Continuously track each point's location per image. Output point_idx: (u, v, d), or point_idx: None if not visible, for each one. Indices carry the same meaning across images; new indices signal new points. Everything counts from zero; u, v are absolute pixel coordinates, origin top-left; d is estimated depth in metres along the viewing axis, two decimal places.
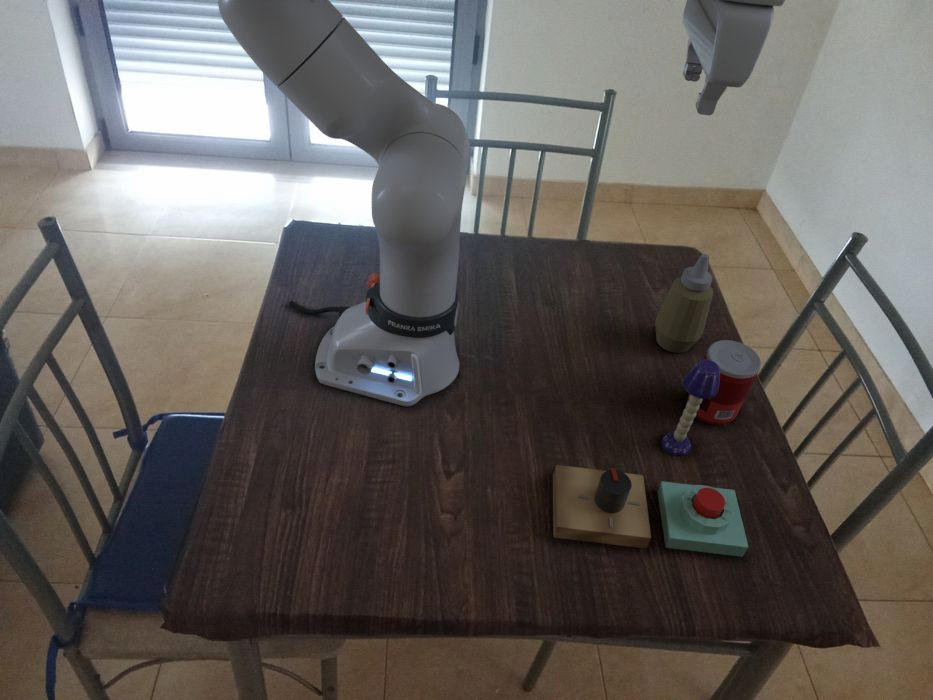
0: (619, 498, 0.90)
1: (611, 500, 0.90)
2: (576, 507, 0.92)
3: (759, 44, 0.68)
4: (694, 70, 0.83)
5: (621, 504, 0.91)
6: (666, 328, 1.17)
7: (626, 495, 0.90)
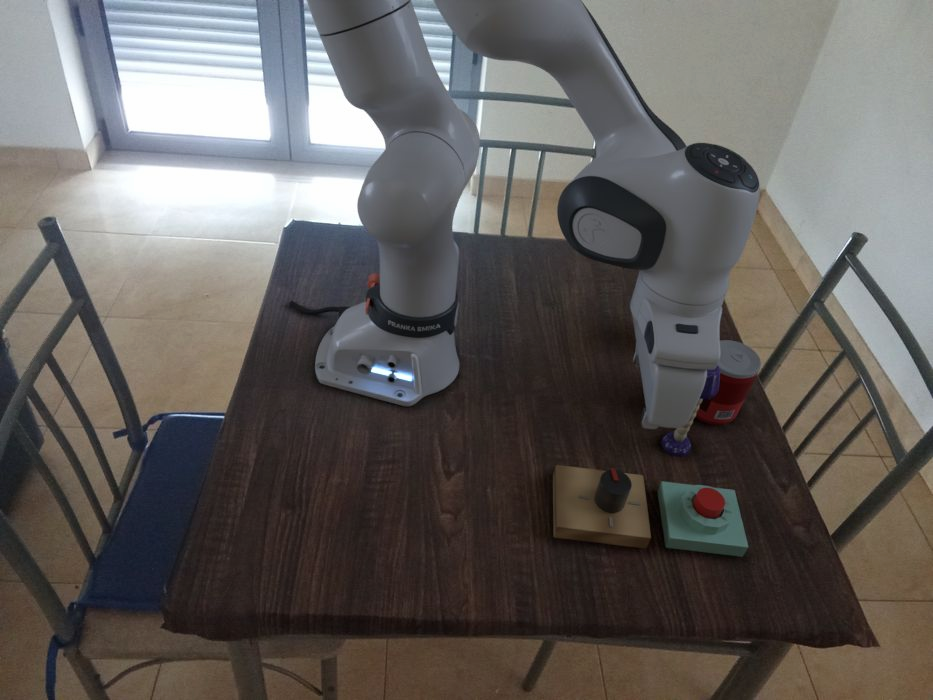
0: (619, 498, 0.90)
1: (611, 500, 0.90)
2: (576, 507, 0.92)
3: (693, 402, 0.70)
4: None
5: (621, 504, 0.91)
6: None
7: (626, 495, 0.90)
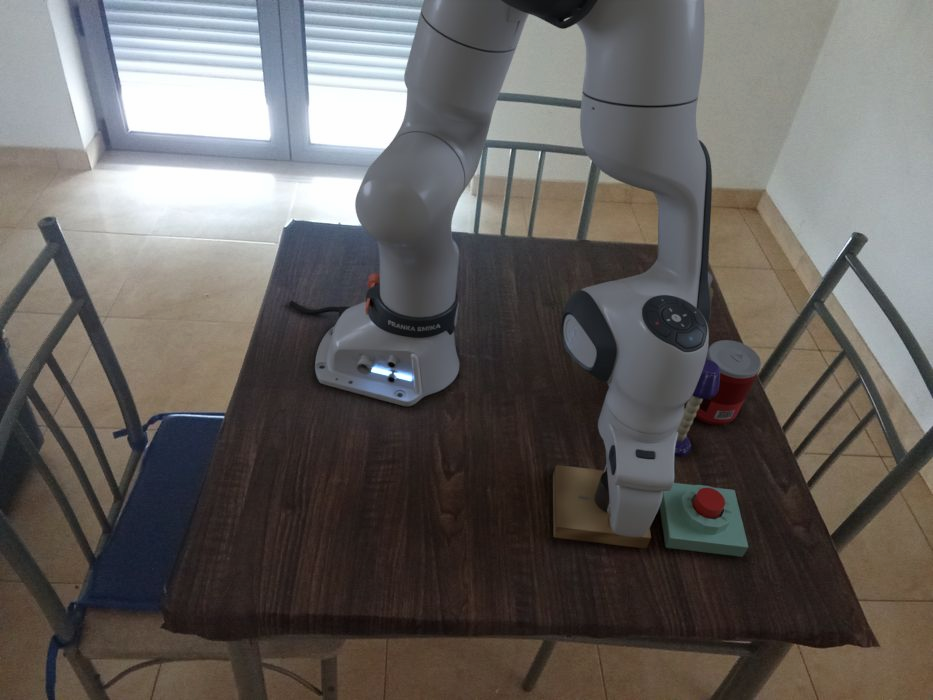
0: None
1: None
2: (576, 507, 0.92)
3: (651, 517, 0.79)
4: None
5: None
6: None
7: None
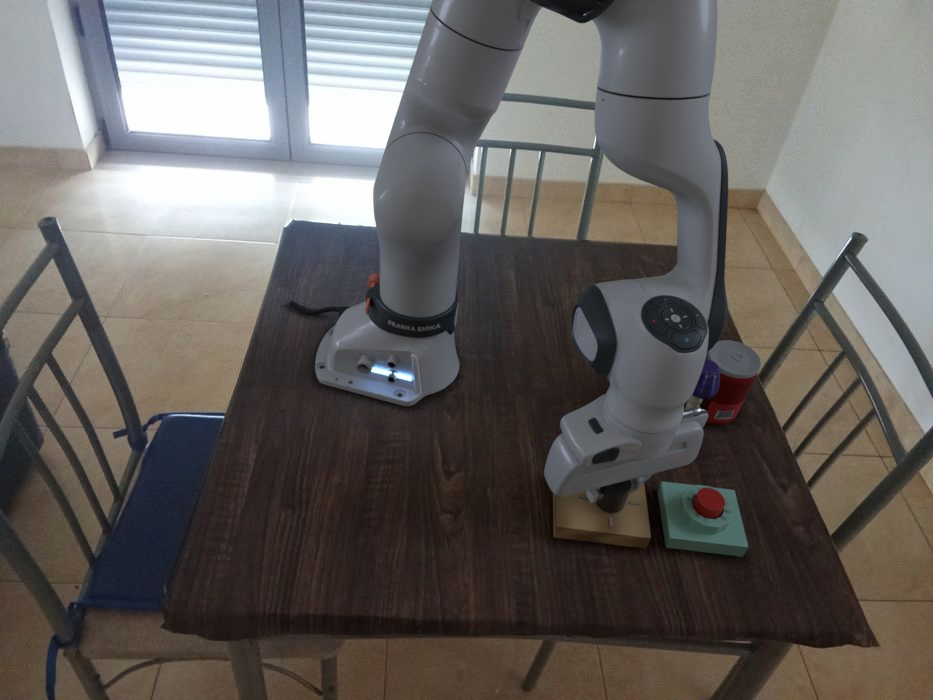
0: None
1: None
2: (576, 507, 0.92)
3: (562, 477, 0.82)
4: None
5: (605, 503, 0.91)
6: None
7: (610, 496, 0.90)
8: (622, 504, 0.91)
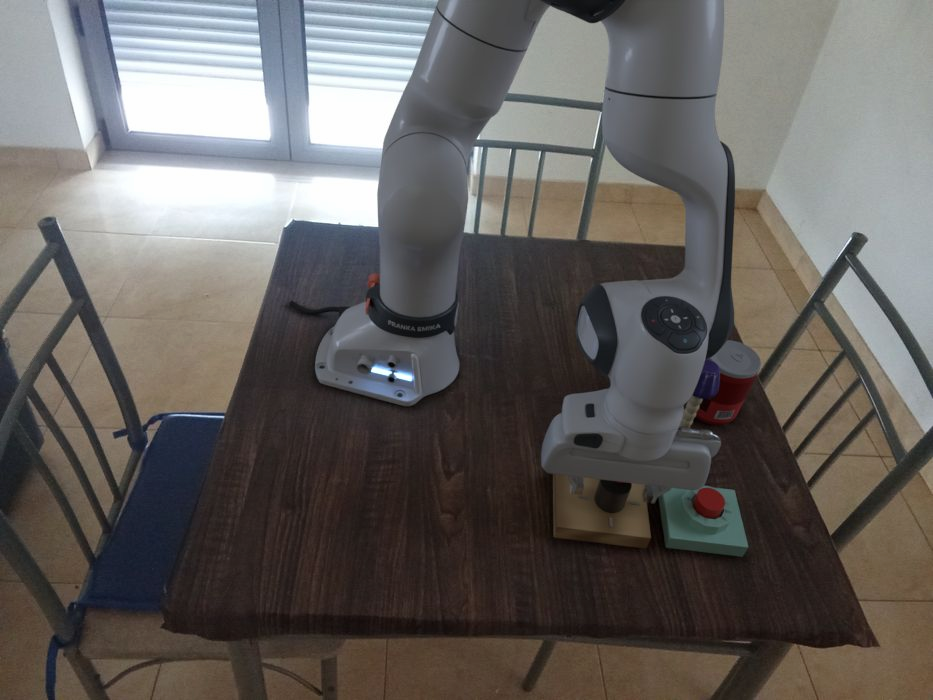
0: (600, 486, 0.91)
1: (598, 484, 0.92)
2: (576, 507, 0.92)
3: (548, 450, 0.85)
4: (645, 492, 0.91)
5: (600, 498, 0.91)
6: None
7: (604, 492, 0.90)
8: (616, 506, 0.91)
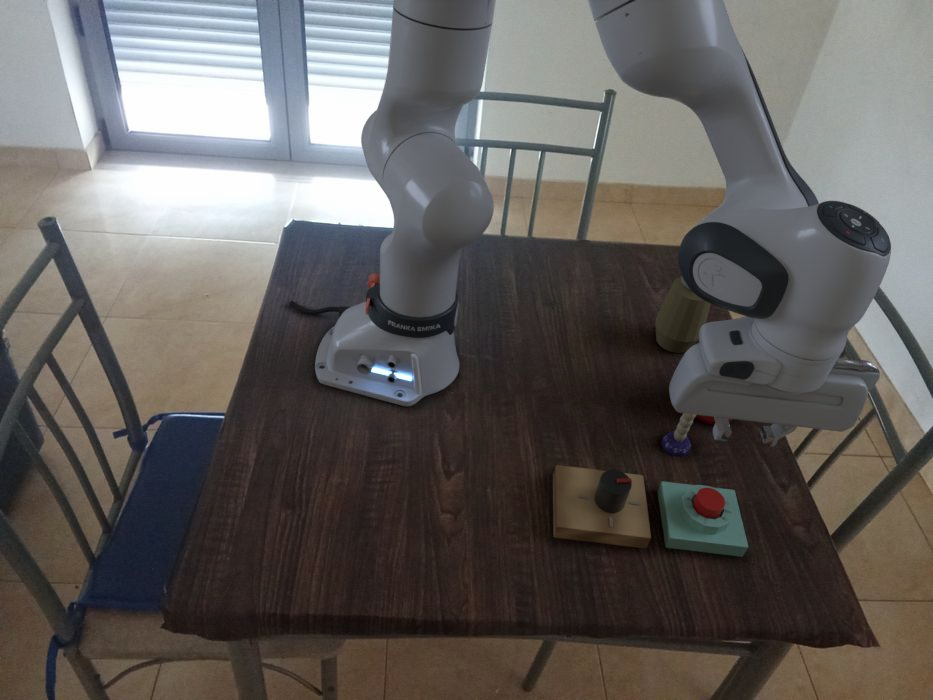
0: (600, 486, 0.91)
1: (598, 484, 0.92)
2: (576, 507, 0.92)
3: (684, 385, 0.76)
4: (764, 434, 0.83)
5: (600, 498, 0.91)
6: (666, 328, 1.17)
7: (604, 492, 0.90)
8: (616, 506, 0.91)
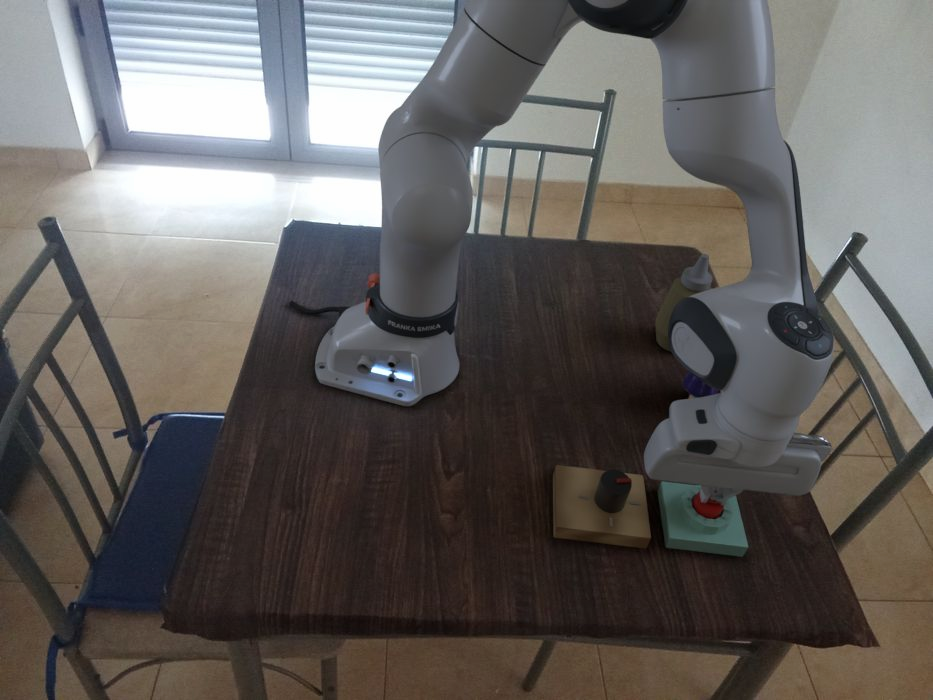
0: (600, 486, 0.91)
1: (598, 484, 0.92)
2: (576, 507, 0.92)
3: (655, 457, 0.84)
4: None
5: (600, 498, 0.91)
6: (666, 328, 1.17)
7: (604, 492, 0.90)
8: (616, 506, 0.91)
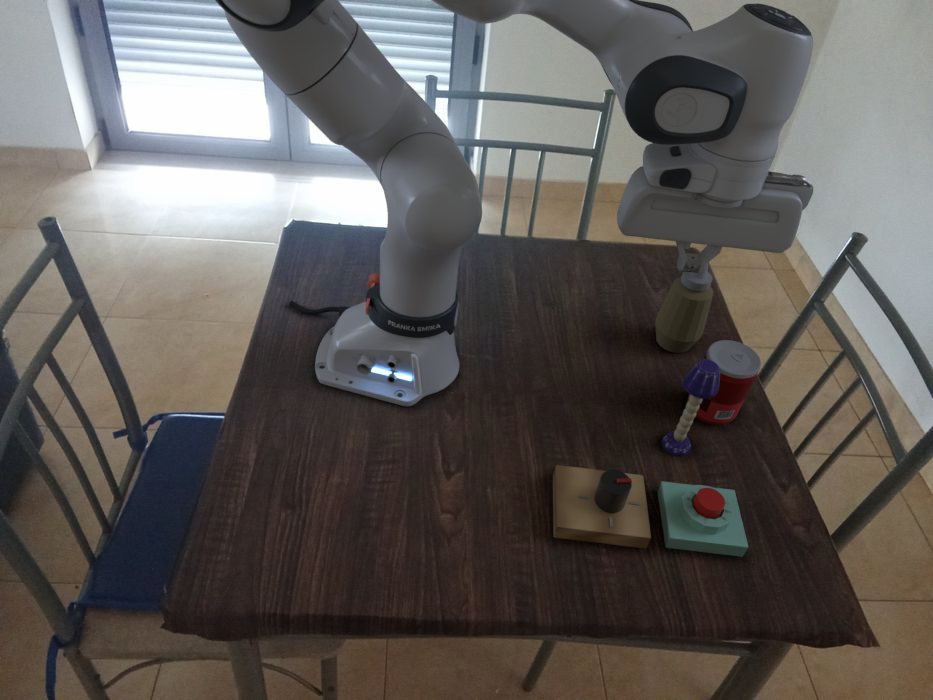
0: (600, 486, 0.91)
1: (598, 484, 0.92)
2: (576, 507, 0.92)
3: (628, 203, 0.80)
4: None
5: (600, 498, 0.91)
6: (666, 328, 1.17)
7: (604, 492, 0.90)
8: (616, 506, 0.91)
